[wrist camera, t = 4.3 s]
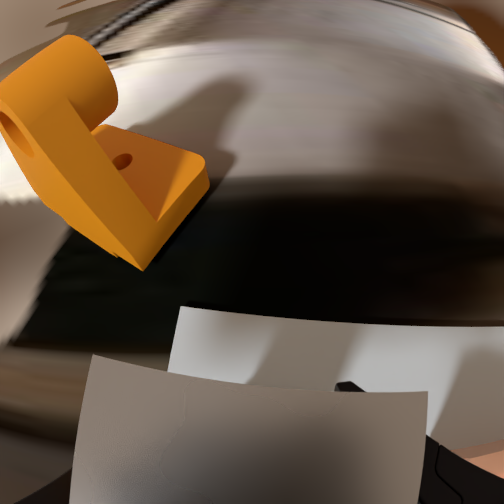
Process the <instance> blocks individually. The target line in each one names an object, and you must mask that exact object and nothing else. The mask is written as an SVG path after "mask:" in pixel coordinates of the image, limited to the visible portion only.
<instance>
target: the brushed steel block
mask: <svg viewBox="0 0 504 504" xmlns="http://www.w3.org/2000/svg"><path fill="white" fill-rule="evenodd" d="M427 409H428V391H418V392H336V391H316V390H300V389H288V388H276V387H266V386H257V385H248V384H240V383H233V382H225V381H218V380H212V379H205V378H199V377H193V376H188V375H182V374H176V373H171V372H166V371H161V370H156V369H151V368H147V367H142V366H138V365H133V364H129V363H125V362H120V361H116V360H112V359H108V358H104V357H101V356H97V355H93V356H92V361H91V365H90V369H89V374H88V378H87V383H86V388H85V393H84V398H83V403H82V409H81V414H80V420H79V426H78V432H77V439H76V445H75V453H74V461H73V469H72V478H71V489H70V501H69V504H417V502H418V496H419V490H420V484H421V476H422V469H423V460H424V451H425V440H426V427H427Z"/></svg>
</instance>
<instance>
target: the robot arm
mask: <svg viewBox="0 0 504 504" xmlns="http://www.w3.org/2000/svg"><path fill="white" fill-rule="evenodd" d="M334 391H336V392H366V391H364V390H363V389H362V388H360V387H359V386H357V385H356V384H355V383H353V382H352V381H345V382H338V383H336V385H335V389H334ZM72 469H73V467H72V468H71V469H69V470H68V471H66V472H65V473H64V474H62V475H61V476H60V477H58V478H57V479H55V480H54V481H52V482H50V483H49V484H47V485H46V486H44V487H42V488H41V489H39V490H37V491H36V492H34V493H32V494H30V495H29V496H27V497H25V498H23V499H21V500H20V501H18V502H16V503H14V504H69V501H70V489H71V478H72ZM417 504H504V479H503V478H501V477H499V476H497V475H494V474H492V473H490V472H488V471H486V470H484V469H482V468H480V467H478V466H476V465H474V464H472V463H470V462H469V461H467V460H465V459H463V458H462V457H460V456H458V455H457V454H455V453H454V452H452V451H450V450H449V449H447V448H446V447H444V446H443V445H439V443H438V442H437V441H435V440H434V439H432V438H431V437H429V436H428V435H427V434H426V440H425V451H424V460H423V469H422V476H421V484H420V490H419V496H418V502H417Z"/></svg>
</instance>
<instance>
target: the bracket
mask: <svg viewBox="0 0 504 504" xmlns="http://www.w3.org/2000/svg"><path fill="white" fill-rule="evenodd" d="M117 105H118V92H117V87H116V83H115V80H114V78H113V75H112V73H111V71H110V69H109V67H108V65H107V64H106V62H105V61H104V59H103V58H102V56H101V55H100V54H99V53H98V51H97V50H96V49H95V48H94V47H93V46H92V45H90V44H89V43H88V42H87V41H85V40H84V39H82V38H80V37H78V36H74V35H66V36H63V37H62V38H60V39H58V40H57V41H55V42H54V43H52V44H51V45H49V46H48V47H46V48H45V49H43V50H42V51H41V52H39V53H38V54H36V55H35V56H34V57H32V58H31V59H29V60H28V61H27V62H25V63H24V64H23V65H21V66H20V67H19V68H18V69H16V70H15V71H14V72H12V73H11V74H10V75H9V76H7V77H6V78H5V79H4V80H3V81H1V82H0V132H1V134H2V136H3V138H4V140H5V142H6V143H7V145H8V147H9V149H10V151H11V153H12V154H13V156H14V158H15V160H16V161H17V163H18V165H19V167H20V168H21V170H22V172H23V173H24V175H25V177H26V179H27V180H28V182H29V183H30V185H31V187H32V188H33V190H34V191H35V192H36V194H37V195H38V196H39V198H40V199H41V200H42V201H43V203H44V204H45V205H46V206H48V207H49V208H50V209H52V210H53V211H55V212H56V213H57V214H59V215H60V216H61V217H63V219H64V220H65V221H66V222H67V224H68V225H70V226H72V227H73V228H74V229H76V230H77V231H79V232H80V233H82V234H83V235H84V236H86V237H87V238H89V239H90V240H92V241H93V242H95V243H96V244H97V245H99V246H100V247H102V248H103V249H105V250H106V251H108V252H109V253H111V254H112V255H114V256H115V257H118V256H120V257H121V258H123V259H125V260H126V261H128V262H129V263H131V264H132V265H134V266H135V267H137V268H139V269H140V270H142V271H144V270H145V268H146V267H147V266H148V264H149V263H150V262H151V260H152V259H153V258H154V256H155V255H156V254H157V253H158V251H159V250H160V249H161V247H162V246H163V245H164V244H165V242H166V241H167V240H168V239H169V237H170V236H171V235H172V233H173V232H174V231H175V230H176V228H177V227H178V226H179V225H180V223H181V222H182V221H183V220H184V218H185V217H186V216H187V215H188V214H189V212H190V211H191V210H192V209H193V207H194V206H195V205H196V204H197V203H198V201H199V200H200V199H201V198H202V197H203V195H204V194H205V193H206V192H207V190H208V189H209V186H210V183H209V178H208V174H207V169H206V165H205V160H204V158H203V157H202V156H201V155H198V154H196V153H193V152H190V151H187V150H184V149H182V148H179V147H176V146H173V145H170V144H167V143H164V142H161V141H158V140H155V139H152V138H149V137H146V136H143V135H140V134H136V133H133V132H130V131H127V130H124V129H120V128H117V127H114V126H111V125H107V124H104V125H100V126H98V125H99V124H101V123H102V122H103V121H104V120H105V119H106V118H108V117H109V116H110V115H111V114H112V113H113V112H114V111H115V110H116V108H117Z"/></svg>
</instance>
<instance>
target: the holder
mask: <svg viewBox="0 0 504 504" xmlns="http://www.w3.org/2000/svg"><path fill="white" fill-rule="evenodd" d="M450 451H452V452H454V453H455V454H457V455H458V456H460V457H462V458H463V459H465V460H467V461H469V462H470V463H472V464H474V465H476V466H478V467H480V468H482V469H484V470H486V471H488V472H490V473H492V474H494V475H497V476H499V477H501V478H503V479H504V439H502V440H498V441H494V442H490V443H485V444H481V445H476V446H471V447H466V448H460V449H454V450H450Z"/></svg>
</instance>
